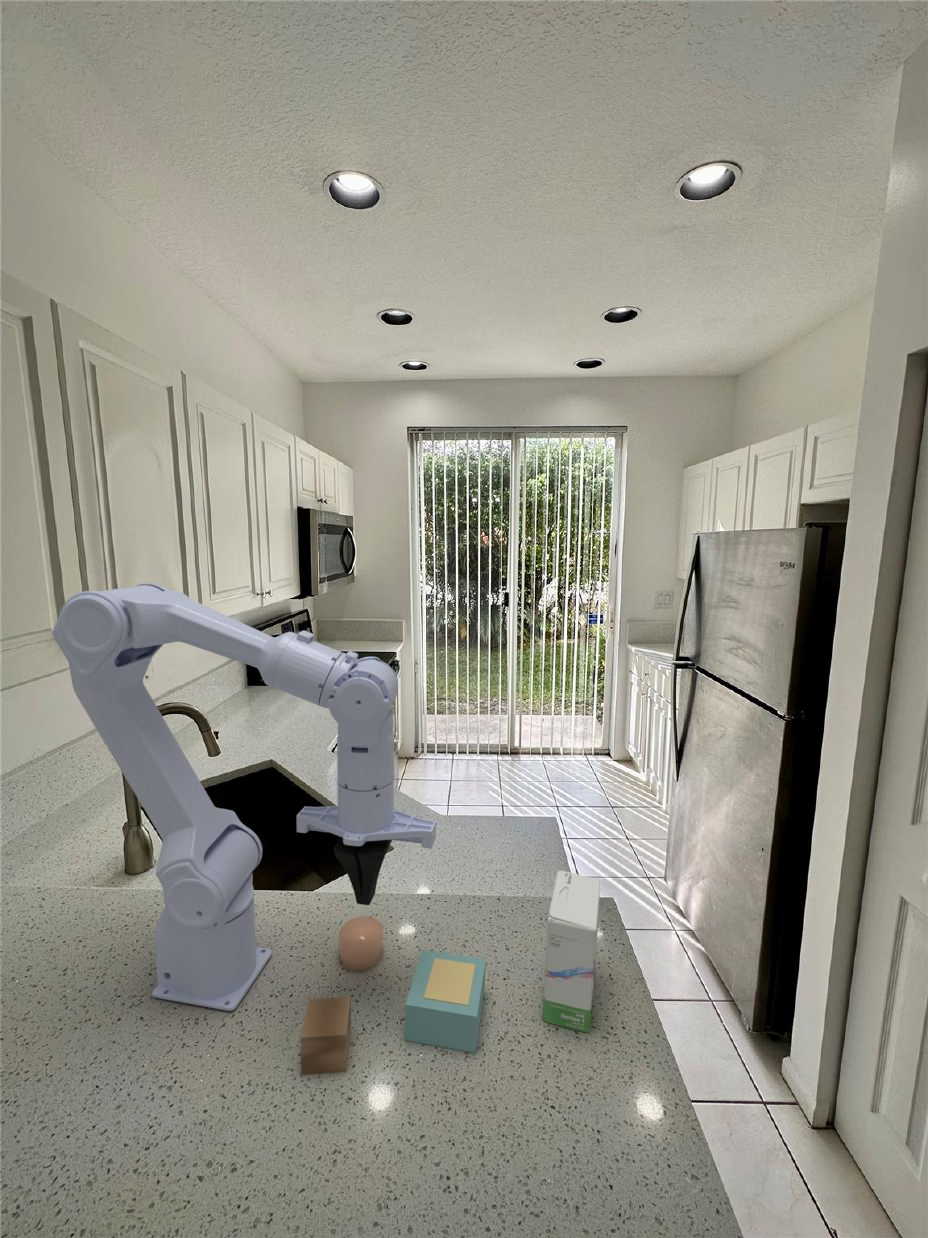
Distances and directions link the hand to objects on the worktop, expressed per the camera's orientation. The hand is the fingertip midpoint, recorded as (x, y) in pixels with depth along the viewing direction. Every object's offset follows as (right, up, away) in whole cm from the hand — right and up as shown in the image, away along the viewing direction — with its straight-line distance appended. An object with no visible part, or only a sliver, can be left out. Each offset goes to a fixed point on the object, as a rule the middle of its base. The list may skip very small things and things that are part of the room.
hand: (366, 898), depth 56 cm
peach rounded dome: (-2, -10, +6) cm, 11 cm away
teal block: (+5, -9, -2) cm, 10 cm away
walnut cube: (-3, -12, -6) cm, 13 cm away
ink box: (+22, -11, +1) cm, 25 cm away
